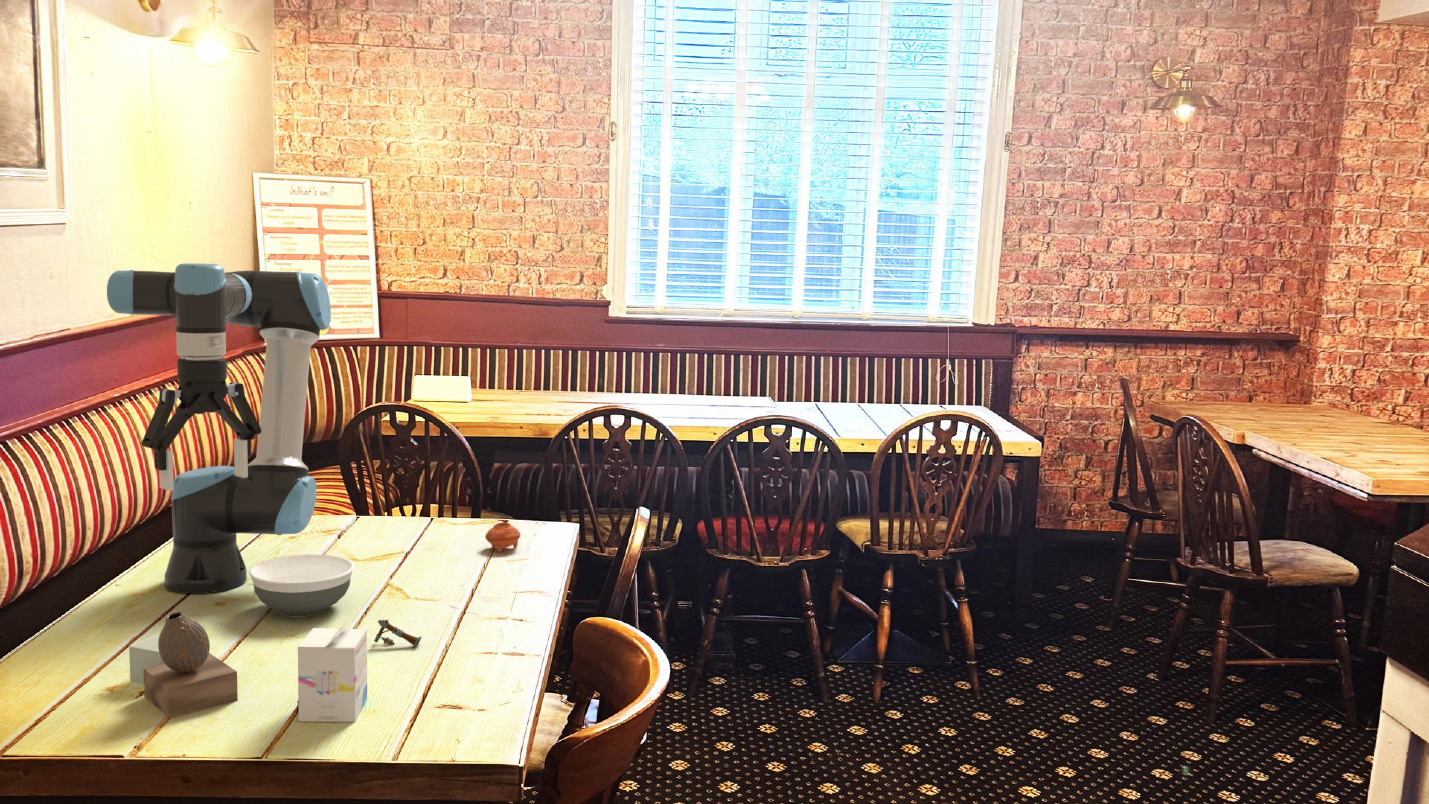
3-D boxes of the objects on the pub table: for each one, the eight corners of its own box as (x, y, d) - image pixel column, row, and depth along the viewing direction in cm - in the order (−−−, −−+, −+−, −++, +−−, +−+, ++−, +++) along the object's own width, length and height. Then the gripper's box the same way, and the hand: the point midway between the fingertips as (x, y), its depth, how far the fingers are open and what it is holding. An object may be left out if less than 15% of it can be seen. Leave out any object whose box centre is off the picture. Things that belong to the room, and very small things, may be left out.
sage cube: (130, 682, 180) (129, 646, 179) (159, 669, 186) (158, 634, 185) (160, 688, 178) (159, 652, 177) (189, 675, 184) (188, 639, 183)
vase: (215, 668, 172) (199, 618, 169) (166, 684, 169) (149, 633, 166) (213, 647, 178) (198, 598, 175) (166, 662, 175) (149, 613, 172)
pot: (520, 553, 259) (513, 525, 258) (486, 560, 259) (479, 532, 258) (526, 543, 267) (519, 515, 266) (493, 549, 267) (486, 522, 266)
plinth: (144, 699, 174) (143, 668, 174) (210, 683, 182) (209, 653, 181) (170, 720, 168) (169, 688, 167) (237, 702, 175) (237, 671, 174)
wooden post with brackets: (372, 636, 202) (382, 614, 201) (412, 657, 201) (422, 635, 201) (368, 640, 200) (378, 618, 199) (408, 661, 200) (418, 639, 199)
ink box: (312, 699, 176) (311, 615, 174) (368, 699, 177) (367, 616, 175) (297, 722, 168) (296, 635, 166) (355, 722, 169) (355, 635, 167)
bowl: (255, 631, 204) (254, 587, 203) (245, 600, 221) (244, 559, 219) (363, 619, 213) (362, 576, 212) (345, 590, 229) (344, 550, 228)
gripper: (141, 364, 177) (146, 498, 180) (281, 354, 197) (283, 474, 200) (115, 360, 181) (120, 491, 184) (254, 350, 202) (256, 468, 205)
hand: (205, 482), depth 192 cm, fingers open, 13 cm apart
